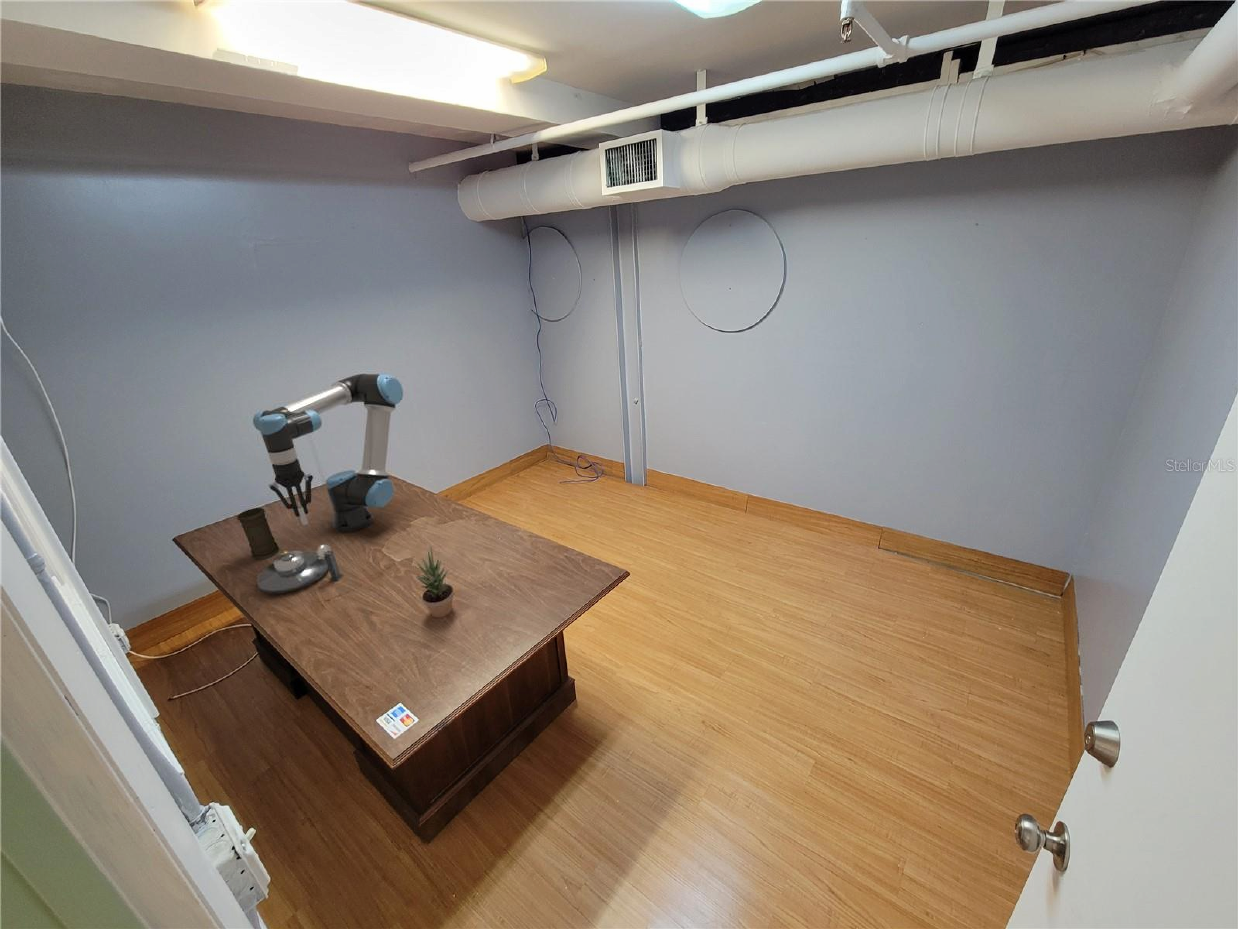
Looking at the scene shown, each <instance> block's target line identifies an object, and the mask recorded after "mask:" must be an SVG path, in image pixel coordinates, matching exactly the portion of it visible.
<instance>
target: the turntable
mask: <svg viewBox="0 0 1238 929" xmlns="http://www.w3.org/2000/svg"><path fill="white" fill-rule="evenodd" d="M287 552H289V550H288V549H286V550H283V551H281V552H280V555H282V554H285V553H287ZM302 553H303V555H304V558H305V561H306V563H307V568H306V569H305V570H304V571H303V572H301V573H299V574H297V575H295V576H292V577H286V578H283V577H279V576H278V574H277V571H276V569H275V566H274V563H271V564H270V565H268V566H267V567H265V568H264V569H263V570H262V571H261V572H260V573H259V574H258V576H257V578H256V584H257V586H258V589H259V590H260V591H261V592H262V593H266V594H273V595H274V594H284V593H289V592H294V591H297V590H299V589H302V588H305V587H307V586H309V585H311V584H312V583H315V582H317V580H319V579H320V578H322V577H323V576H324V575H325V574H326V573H327V572H328V571H329V568H328V565H327V562H326V559H319V558H318V557H317V551H307V552H306V551H305V552H302Z"/></svg>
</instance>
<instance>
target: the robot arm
mask: <svg viewBox="0 0 1238 929" xmlns="http://www.w3.org/2000/svg"><path fill="white" fill-rule="evenodd" d="M403 397H404V389H403V386H402V384H401V382H400V380H399V379H398V378H397V377H395V376H393V375H391V374H385V373H383V374H382V373H381V374H377V373H376V374H375V373H370V374H369V373H359V374H355V375H351V376H348V377H345V378H343V379H341V380H338V381H335V382H333V383H332V384H331V386H330V387H328V388H325V389H323V390H320V391H318V392H315V393H313V394H310V395H308V396H305V397H303V398H299V399H297V400H295V401H293V402H290V403H288V404H285V405H283V406H282V405H281V406H280V407H277V408H274V409H271V410H267V409H264V410H260V411H257V412H256V413H255V414H254V415H253V417H252V424H253V426H254V428H256V430H257V431H259V432H260V434H261V437H262V439H263V440H262V441H263V442H264V445H265V448H266V451H267V453H268V456H269V457H268V458H269V460H270V462H271V464H272V465H271V466H272V470H273V473H274V476H275V477H274V482H273V483H271V484H269V485H268V487H269V489H270V490H271V491H273V492H274V493H275V494H276V495H277V496H278V498H279V499H280V500H281V502H282V503H283V505H284V506H285V508H286V509H287V510H291V509H292V510H293V512H294V515H295V517H296V518H299V520H300V523H301V524H302V525H303V526H306V525H308V524H309V522H308V519H307V515H308V514H309V511H308V507H307V505H308V504H310V503H312V481H313V479H314V476H313V475H312V474H311V473H305V472H304V471H303V470H302V467H301V465H300V464H301V463H300V461H299V459H298V455H297V451H296V448H295V444H294V441H293V440H295V439H297V438H301V437H304V436H306V435H309V434H313V433H314V432H315V431H318V430H320V428H322V426H323V422H322V419H321V416H320V414H322V413H325V412H327V411H329V410H331V409H334V408H336V407H339V406H341V405H342V406H347V405H350V404H351V403H352V404H353V403H363V406H364V408H366V410H367V414H366V422H365V433H364V434H365V435H364V445H363V453H362V454H363V456H362V464H361V469H360V470H359V471H357V473H356V471H355V470H352V469H351V470H345V471H340V472H337V473H335V474H333V475H330V476H329V477H328V478H326V479H325V485H326V486H325V487H326V491H327V494H328V497H329V500H330V503H331V506H332V509H333V521H332V525H333V528H334V530H335V532H338V533H353V532H357V531H360V530H362V529H364V528H366V527H368V526H370V525H371V524H372V523H373V521H374V516H373V513H372V511H371V510H370V509H369V508H382V507H384V506H386V505H388V503H389V502H390V501H391V500H392V498H393V496H394V494H395V485H394V484H393V482H392V481H391V480H390V478H389V477H390V475H389V473H388V471H387V470H386V467H387V466H386V464H387V457H388V456H387V455H388V446H389V445H388V444H389V437H390V435H389V434H390V422H391V413H392V412H393V411H395V410H396V405H398V404H399V403H400V402H401V401H402V400H403ZM303 479H304V481H305V482H304V483H305V484H304V485H305V486H304V488H305V489H304V490H305V496H304V494H303V491H302V486H301V484H302V481H303ZM279 485H280V486H281V487H283V488H285V489H286V493H287V495H288V498H289V502H290V503H289V502H288V500H287V499H286V498H285V496H284V495H283V493H282V492H281V490H280V489H279V488H280V486H279ZM293 488H295V491H296V494H297V497H298V500H299V505H298V504H297V502H296V498H295V494H294V492H293ZM368 507H369V508H368Z"/></svg>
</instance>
